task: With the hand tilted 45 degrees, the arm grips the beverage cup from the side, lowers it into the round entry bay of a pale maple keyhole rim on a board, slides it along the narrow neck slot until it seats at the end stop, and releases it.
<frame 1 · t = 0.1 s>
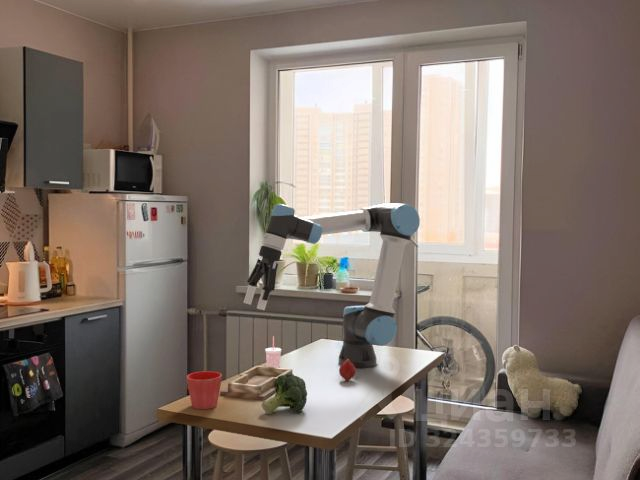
hand: (253, 306, 229), 28 cm above the table, tool tilted 20°, fingers open, 13 cm apart
beverage cup: (273, 373, 248), on the table
pomegranate: (347, 381, 238), on the table
vegetable: (285, 412, 203), on the table
flower pot: (204, 406, 208), on the table
keyhole board: (258, 387, 229), on the table
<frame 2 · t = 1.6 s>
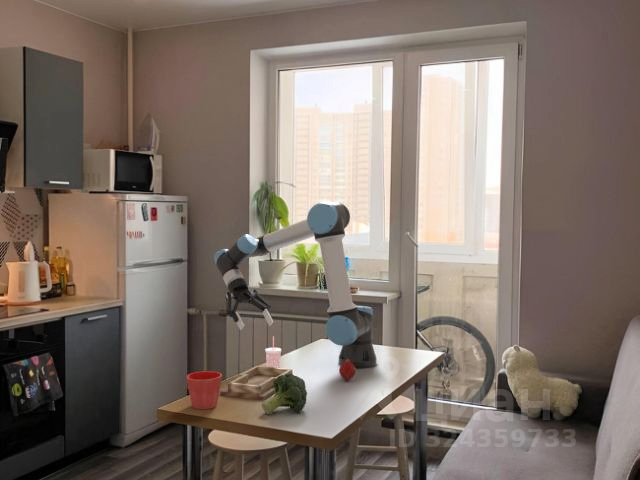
hand: (257, 326, 255), 16 cm above the table, tool tilted 45°, fingers open, 13 cm apart
nothing on the table moved.
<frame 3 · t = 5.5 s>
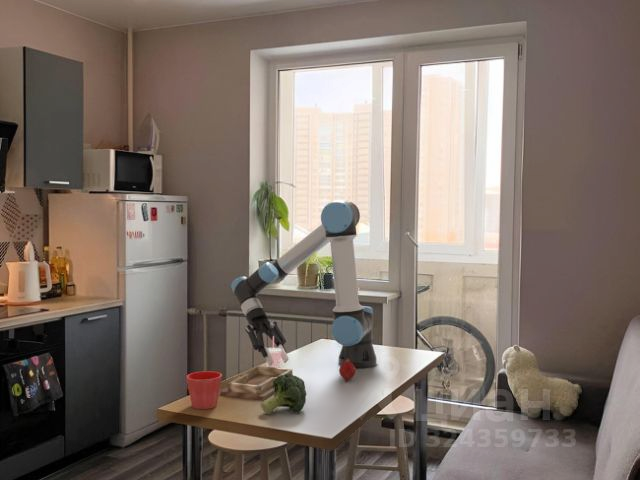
hand: (279, 362, 245), 5 cm above the table, tool tilted 45°, fingers closed on beverage cup, 6 cm apart
beverage cup: (273, 373, 248), on the table, touching gripper
everything else where it was.
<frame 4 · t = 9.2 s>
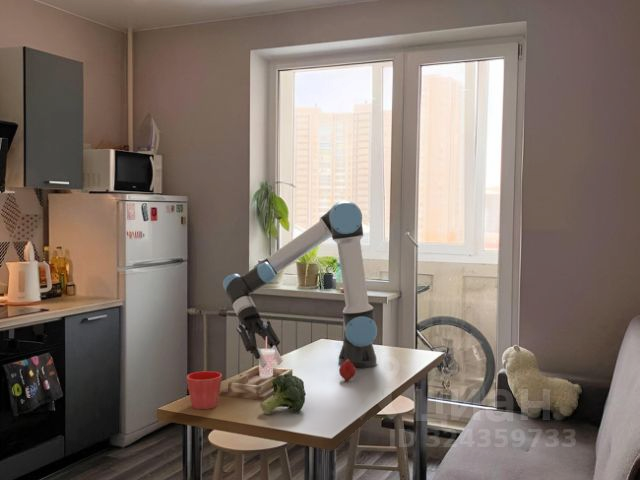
hand: (272, 364, 232), 7 cm above the table, tool tilted 45°, fingers closed on beverage cup, 6 cm apart
beverage cup: (266, 376, 235), point 2 cm above the table, touching gripper
everything else where it was.
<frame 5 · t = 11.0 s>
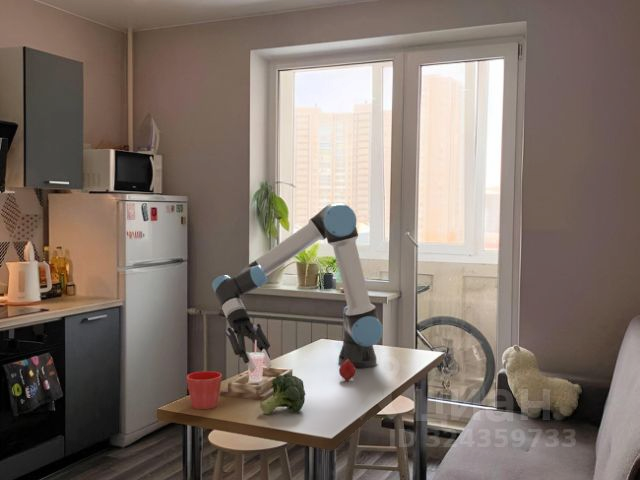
hand: (261, 368, 225), 7 cm above the table, tool tilted 45°, fingers closed on beverage cup, 6 cm apart
beverage cup: (255, 380, 229), point 2 cm above the table, touching gripper
everything else where it was.
when the fingers open (7 cm above the table, at t = 12.7 s): beverage cup drops 1 cm, resting on keyhole board.
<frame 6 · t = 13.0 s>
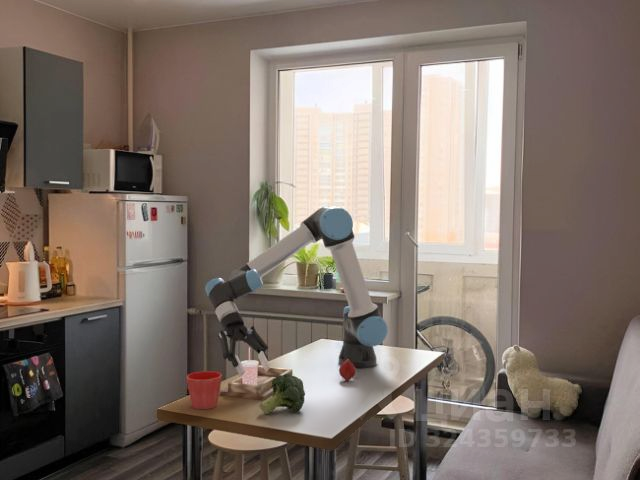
hand: (255, 371, 220), 8 cm above the table, tool tilted 45°, fingers open, 9 cm apart
beverage cup: (249, 389, 223), point 1 cm above the table, touching keyhole board
everything else where it was.
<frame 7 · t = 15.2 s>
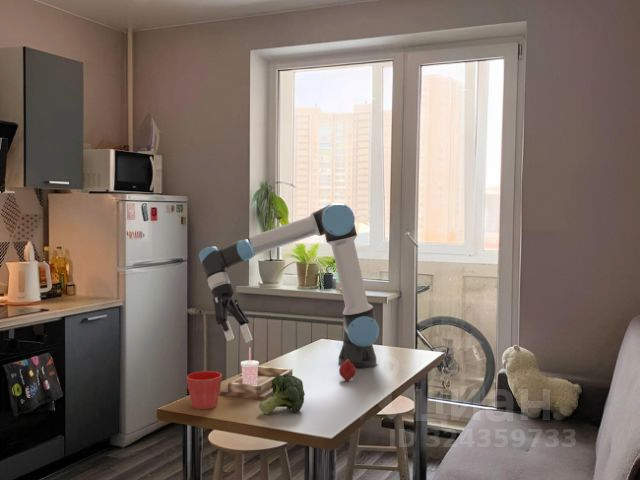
hand: (240, 340, 235), 15 cm above the table, tool tilted 30°, fingers open, 13 cm apart
nothing on the table moved.
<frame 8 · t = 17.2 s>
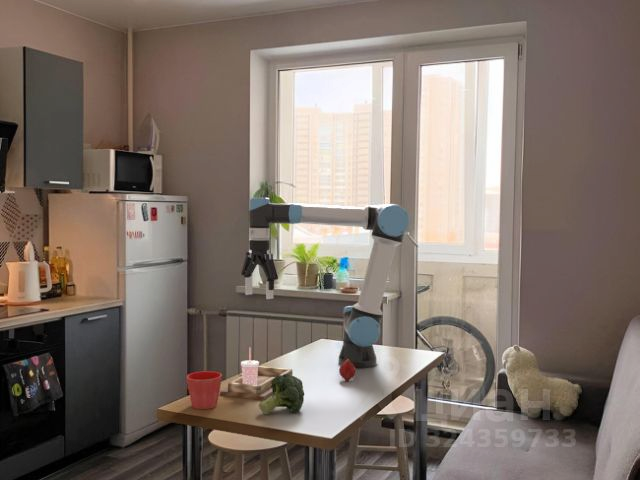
hand: (259, 296, 246), 29 cm above the table, tool pointing down, fingers open, 13 cm apart
nothing on the table moved.
at the end: beverage cup 0.2 cm from the target spot on the keyhole board, point 1.0 cm above the keyhole board's base; beverage cup tilted 0°; the gripper is holding nothing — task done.
